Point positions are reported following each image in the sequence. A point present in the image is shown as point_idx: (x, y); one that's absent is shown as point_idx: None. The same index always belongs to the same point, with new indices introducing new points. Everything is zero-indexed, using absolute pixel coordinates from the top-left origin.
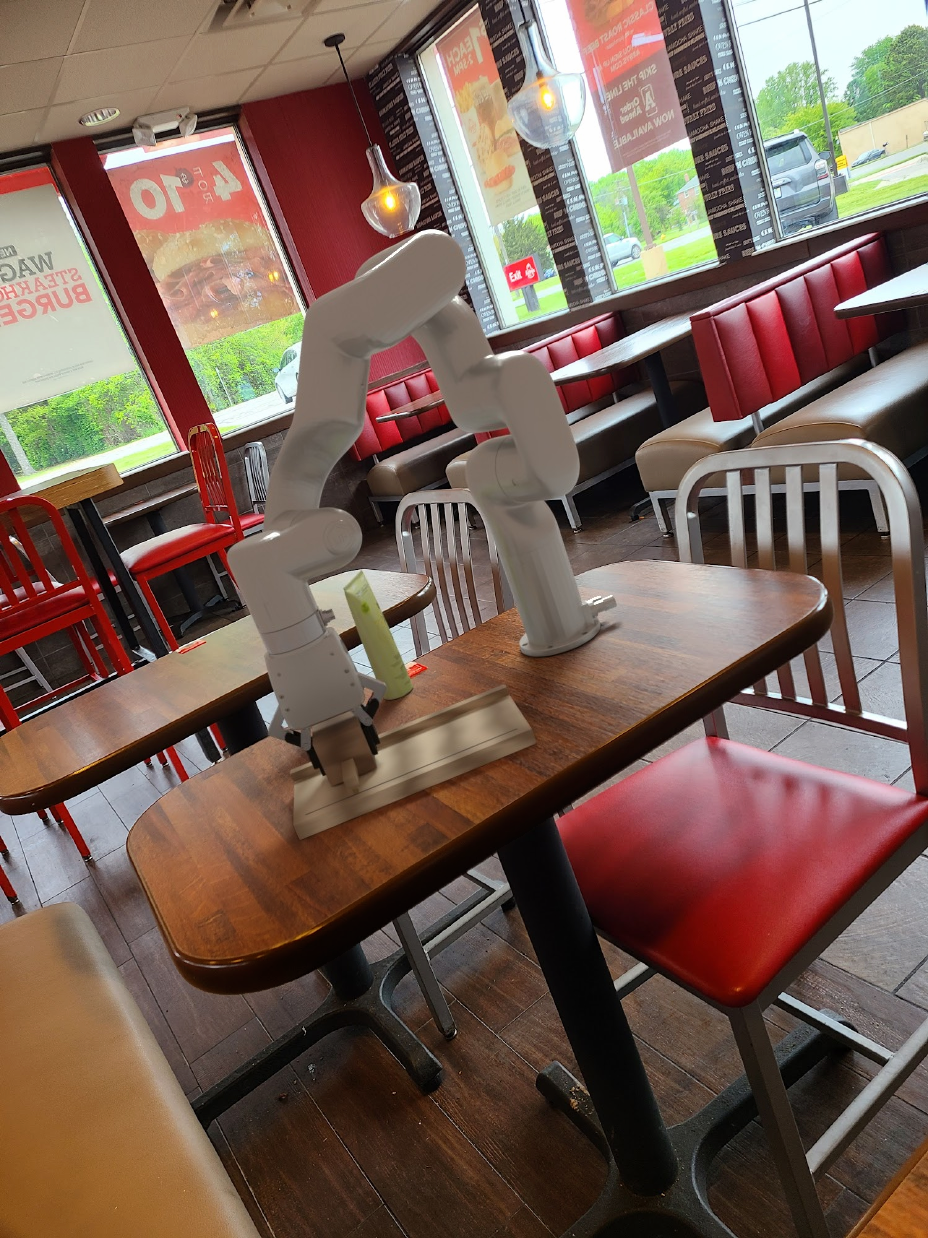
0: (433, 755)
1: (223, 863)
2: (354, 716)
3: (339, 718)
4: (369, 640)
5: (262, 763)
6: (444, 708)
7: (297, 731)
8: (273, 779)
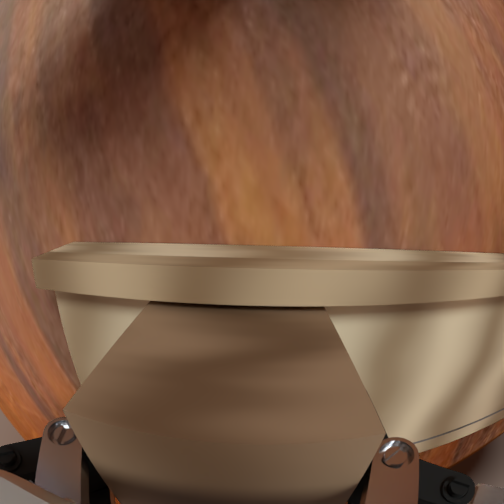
0: (416, 425)
1: (15, 380)
2: (336, 496)
3: (252, 476)
4: None
5: (28, 24)
6: None
7: (35, 472)
8: (24, 115)
